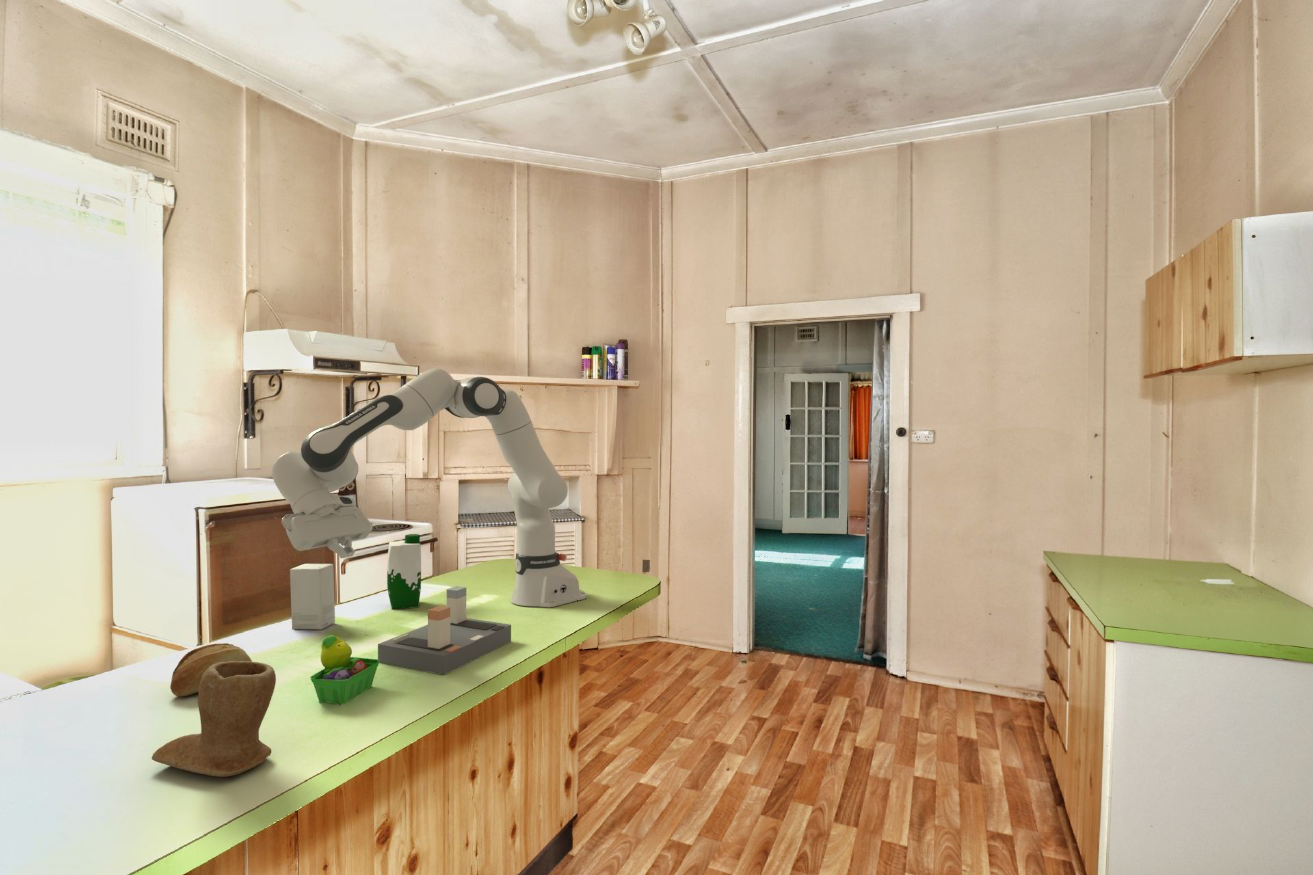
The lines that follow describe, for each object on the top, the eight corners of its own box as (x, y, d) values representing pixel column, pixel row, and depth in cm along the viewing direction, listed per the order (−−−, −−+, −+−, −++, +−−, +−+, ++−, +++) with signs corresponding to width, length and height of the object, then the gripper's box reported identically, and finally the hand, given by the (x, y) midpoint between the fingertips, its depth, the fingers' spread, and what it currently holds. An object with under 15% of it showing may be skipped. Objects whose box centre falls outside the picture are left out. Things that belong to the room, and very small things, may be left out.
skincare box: (335, 623, 175) (335, 563, 174) (320, 630, 168) (320, 568, 168) (305, 621, 176) (305, 562, 175) (289, 629, 169) (289, 567, 169)
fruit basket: (344, 708, 123) (344, 647, 123) (302, 703, 125) (302, 643, 125) (381, 684, 135) (382, 628, 134) (342, 680, 136) (342, 625, 136)
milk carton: (422, 607, 191) (422, 537, 190) (388, 610, 187) (388, 538, 186) (419, 599, 199) (419, 532, 198) (386, 602, 195) (386, 534, 194)
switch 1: (439, 641, 148) (439, 605, 148) (450, 643, 147) (450, 607, 146) (427, 646, 144) (427, 609, 144) (438, 648, 143) (439, 611, 143)
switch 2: (456, 618, 166) (456, 586, 166) (466, 619, 165) (466, 587, 164) (446, 622, 162) (446, 589, 162) (456, 623, 161) (456, 590, 161)
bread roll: (155, 696, 128) (155, 654, 128) (232, 670, 141) (233, 632, 141) (187, 705, 124) (187, 662, 124) (263, 677, 138) (264, 639, 137)
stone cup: (293, 752, 107) (293, 658, 106) (222, 791, 95) (223, 686, 95) (223, 736, 112) (223, 647, 111) (148, 771, 100) (148, 671, 100)
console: (450, 631, 169) (450, 612, 169) (511, 640, 162) (511, 621, 162) (377, 662, 147) (377, 640, 147) (444, 674, 140) (444, 651, 140)
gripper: (285, 506, 148) (317, 554, 145) (358, 497, 167) (388, 540, 164) (270, 525, 150) (302, 573, 147) (344, 514, 169) (374, 556, 166)
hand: (348, 555), depth 155 cm, fingers closed
